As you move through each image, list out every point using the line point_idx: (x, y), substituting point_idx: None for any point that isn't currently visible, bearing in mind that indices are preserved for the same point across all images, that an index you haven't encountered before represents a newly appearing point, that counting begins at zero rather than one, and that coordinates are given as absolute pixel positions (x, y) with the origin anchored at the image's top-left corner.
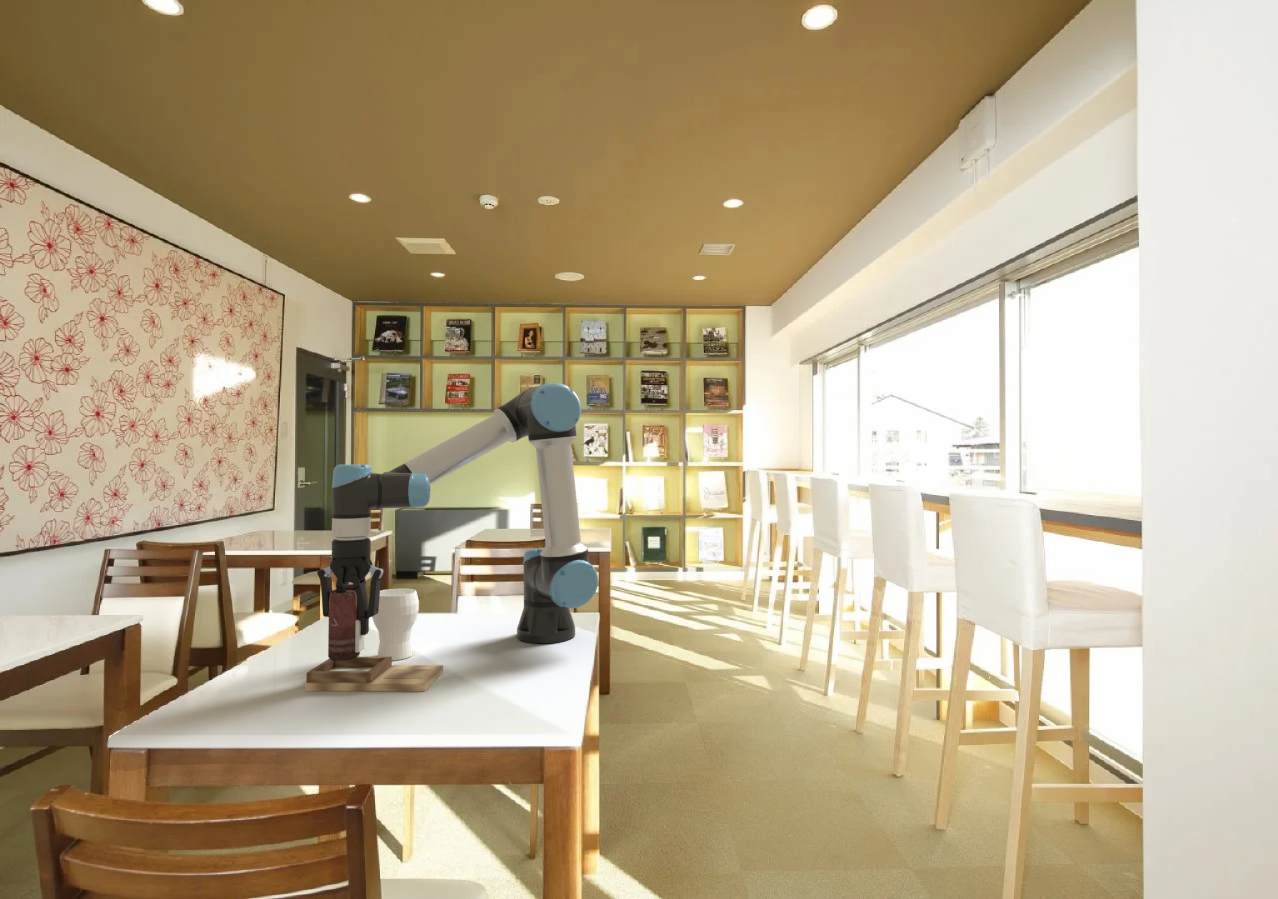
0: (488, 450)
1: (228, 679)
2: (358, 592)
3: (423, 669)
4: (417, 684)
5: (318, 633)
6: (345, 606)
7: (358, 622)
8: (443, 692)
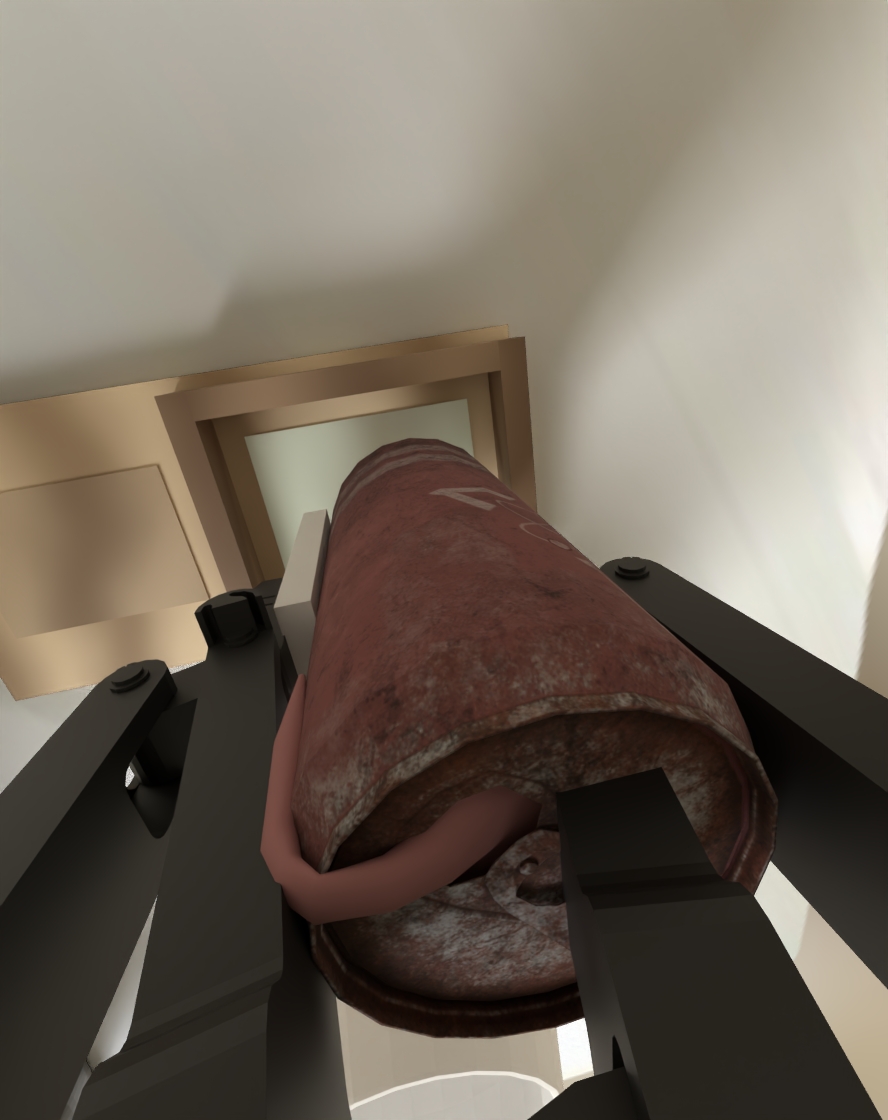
0: None
1: (878, 420)
2: (215, 899)
3: (54, 625)
4: None
5: (774, 880)
6: (378, 602)
7: (282, 598)
8: None
